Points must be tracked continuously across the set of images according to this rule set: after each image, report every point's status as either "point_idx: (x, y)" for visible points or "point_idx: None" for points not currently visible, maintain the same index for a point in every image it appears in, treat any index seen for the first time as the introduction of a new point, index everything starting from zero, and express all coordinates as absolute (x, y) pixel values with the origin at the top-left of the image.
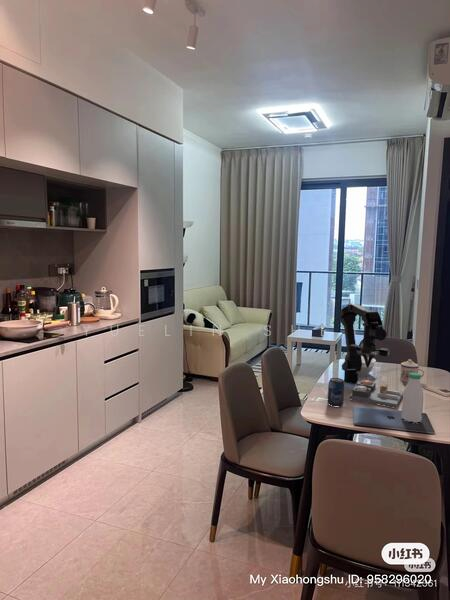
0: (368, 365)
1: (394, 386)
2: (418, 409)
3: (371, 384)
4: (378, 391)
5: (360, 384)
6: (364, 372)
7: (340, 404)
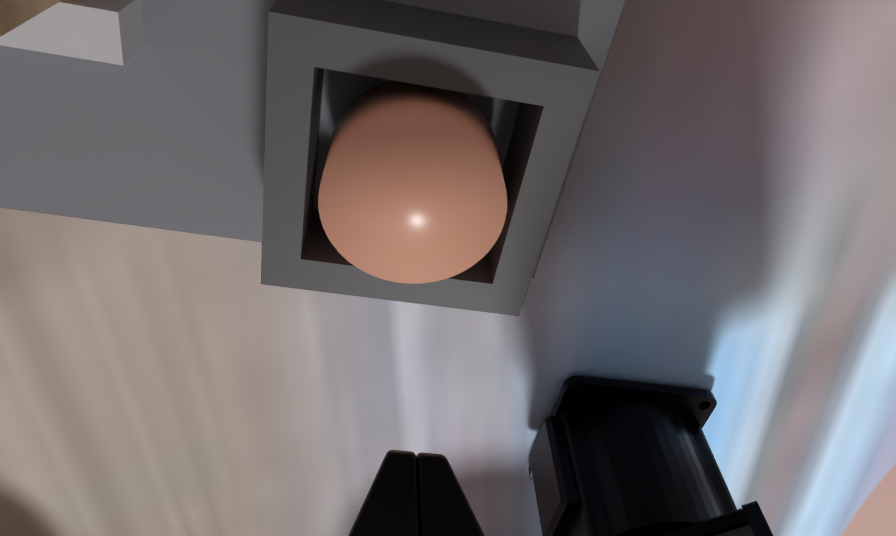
0: (383, 501)
1: (109, 451)
2: None
3: None
4: (180, 26)
5: (541, 60)
6: None
7: None
